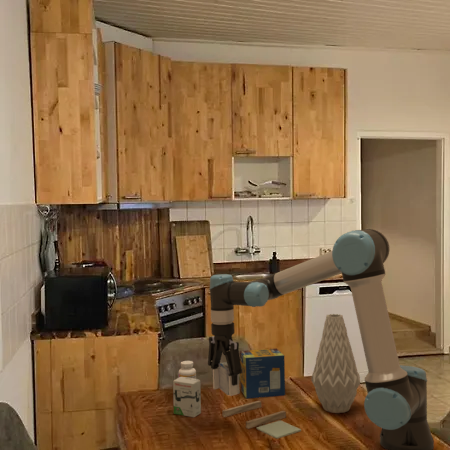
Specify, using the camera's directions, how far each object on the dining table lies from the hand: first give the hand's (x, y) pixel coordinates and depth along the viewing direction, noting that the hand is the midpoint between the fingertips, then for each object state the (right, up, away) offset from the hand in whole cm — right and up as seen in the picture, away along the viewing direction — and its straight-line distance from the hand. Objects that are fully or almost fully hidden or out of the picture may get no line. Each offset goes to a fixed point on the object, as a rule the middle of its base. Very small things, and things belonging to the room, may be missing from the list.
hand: (225, 391), depth 190 cm
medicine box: (+1, 0, +1) cm, 2 cm away
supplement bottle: (-14, -11, +31) cm, 36 cm away
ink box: (-13, -11, +12) cm, 21 cm away
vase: (+39, -10, +13) cm, 42 cm away
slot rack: (+10, -11, +7) cm, 16 cm away
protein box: (+14, -10, +32) cm, 37 cm away
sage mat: (+17, -11, -5) cm, 21 cm away
